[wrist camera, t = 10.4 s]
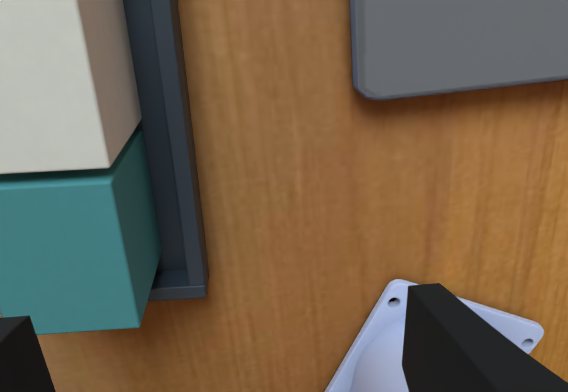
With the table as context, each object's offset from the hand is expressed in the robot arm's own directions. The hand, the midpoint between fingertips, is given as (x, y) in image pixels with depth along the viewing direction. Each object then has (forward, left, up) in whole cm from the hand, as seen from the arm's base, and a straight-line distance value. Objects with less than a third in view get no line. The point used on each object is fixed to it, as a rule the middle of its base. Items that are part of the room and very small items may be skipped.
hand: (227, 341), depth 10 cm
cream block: (+2, +6, -9) cm, 11 cm away
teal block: (-3, +4, -9) cm, 11 cm away
